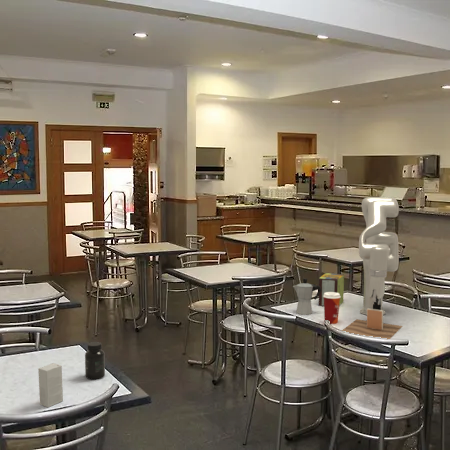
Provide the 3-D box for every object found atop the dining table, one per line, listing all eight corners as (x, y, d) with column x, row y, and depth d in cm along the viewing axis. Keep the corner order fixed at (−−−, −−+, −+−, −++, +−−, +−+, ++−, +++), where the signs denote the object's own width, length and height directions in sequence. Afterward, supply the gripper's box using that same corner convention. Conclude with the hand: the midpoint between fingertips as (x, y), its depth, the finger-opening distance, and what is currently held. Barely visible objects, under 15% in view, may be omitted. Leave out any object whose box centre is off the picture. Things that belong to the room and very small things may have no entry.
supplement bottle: (82, 375, 203) (81, 343, 201) (100, 371, 207) (99, 339, 205) (89, 381, 197) (89, 348, 196) (108, 377, 201) (107, 344, 200)
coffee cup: (339, 327, 264) (340, 296, 263) (322, 326, 266) (322, 295, 264) (339, 322, 273) (340, 292, 271) (322, 321, 274) (323, 291, 273)
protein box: (343, 301, 314) (344, 274, 312) (337, 308, 300) (338, 279, 298) (325, 299, 318) (325, 272, 316) (317, 306, 304) (318, 277, 302)
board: (356, 321, 274) (356, 319, 274) (402, 328, 263) (402, 326, 263) (340, 334, 254) (340, 331, 254) (389, 342, 242) (389, 339, 242)
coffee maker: (291, 314, 286) (292, 279, 284) (291, 310, 295) (292, 276, 293) (321, 315, 284) (322, 280, 282) (320, 311, 293) (321, 277, 291)
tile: (367, 326, 261) (367, 308, 259) (382, 329, 257) (383, 310, 256) (366, 327, 260) (366, 309, 258) (381, 330, 256) (382, 311, 254)
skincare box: (54, 398, 183) (53, 362, 182) (63, 401, 181) (62, 365, 179) (38, 404, 178) (37, 368, 177) (47, 408, 176) (46, 371, 174)
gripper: (374, 270, 266) (373, 308, 268) (365, 275, 253) (363, 315, 255) (390, 271, 262) (389, 310, 264) (381, 276, 249) (380, 317, 251)
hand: (376, 312), depth 259 cm, fingers closed
